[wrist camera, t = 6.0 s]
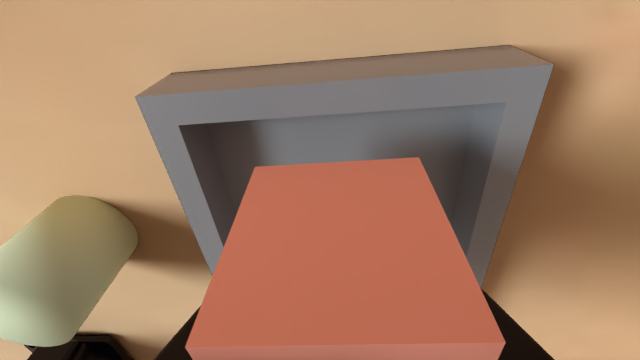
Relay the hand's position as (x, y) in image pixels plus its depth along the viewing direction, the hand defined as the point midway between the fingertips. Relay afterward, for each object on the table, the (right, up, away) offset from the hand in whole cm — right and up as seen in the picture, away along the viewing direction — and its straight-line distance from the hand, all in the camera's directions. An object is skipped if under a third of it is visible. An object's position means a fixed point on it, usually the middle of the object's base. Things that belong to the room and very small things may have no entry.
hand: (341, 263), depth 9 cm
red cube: (0, +1, +1) cm, 2 cm away
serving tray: (+1, 0, +7) cm, 7 cm away
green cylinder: (-12, 0, +8) cm, 15 cm away
